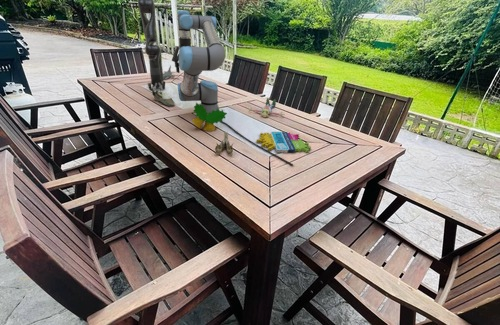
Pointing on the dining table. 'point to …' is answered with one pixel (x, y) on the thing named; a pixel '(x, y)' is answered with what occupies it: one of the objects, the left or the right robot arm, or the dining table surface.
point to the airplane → (168, 74)
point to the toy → (267, 109)
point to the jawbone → (224, 145)
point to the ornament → (207, 117)
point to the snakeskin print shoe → (164, 98)
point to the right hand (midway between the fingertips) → (186, 71)
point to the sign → (283, 142)
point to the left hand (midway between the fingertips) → (157, 95)
